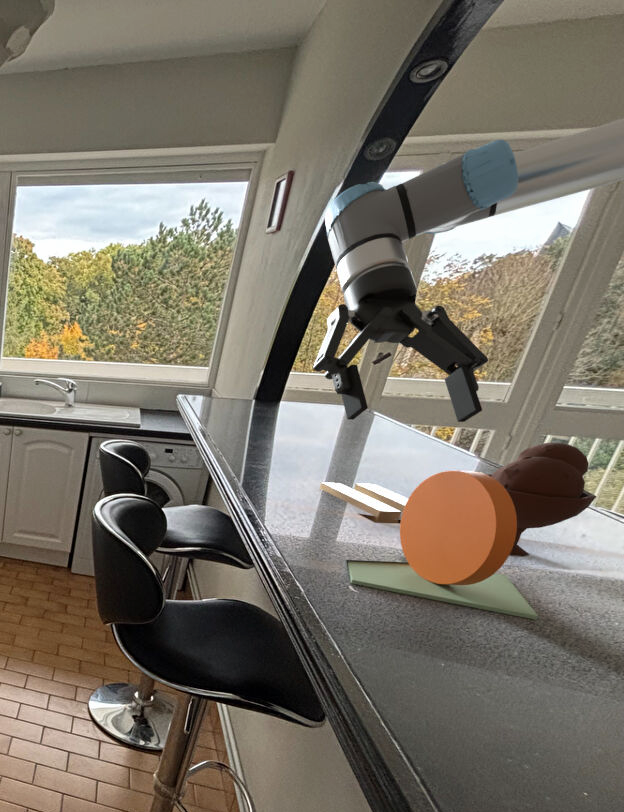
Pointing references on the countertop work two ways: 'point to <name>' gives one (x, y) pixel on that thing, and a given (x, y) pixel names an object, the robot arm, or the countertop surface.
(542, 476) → the ice cream bowl
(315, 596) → the countertop surface
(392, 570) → the sage mat
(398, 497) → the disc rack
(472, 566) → the orange disc
